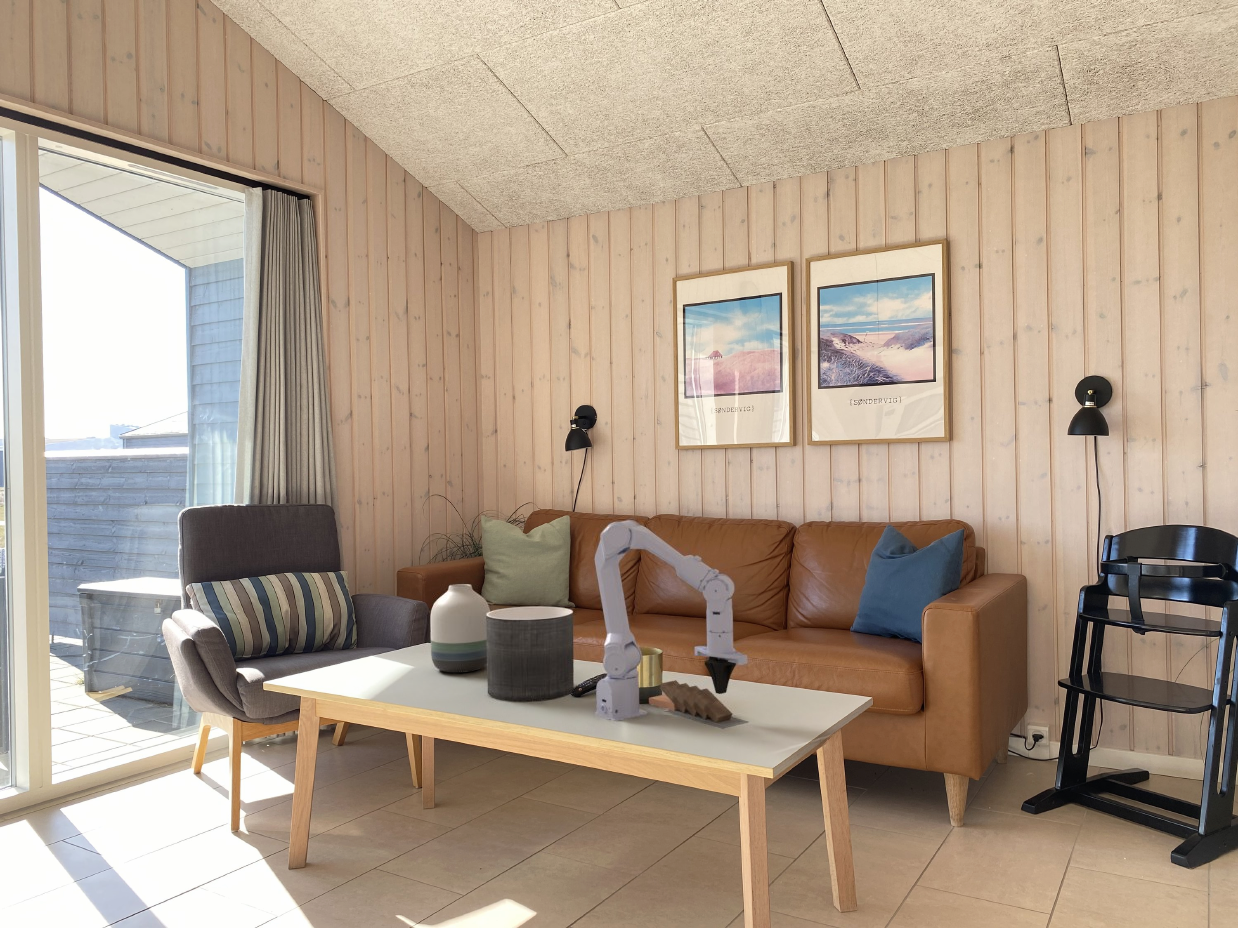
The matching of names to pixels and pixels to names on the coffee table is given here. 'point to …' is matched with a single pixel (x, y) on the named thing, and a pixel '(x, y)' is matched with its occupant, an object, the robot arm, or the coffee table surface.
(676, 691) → the walnut tile
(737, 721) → the grey flat rectangular plate
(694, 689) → the walnut tile
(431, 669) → the coffee table surface
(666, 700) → the terracotta tile
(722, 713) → the walnut tile
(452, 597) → the vase
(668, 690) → the walnut tile
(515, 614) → the planter
